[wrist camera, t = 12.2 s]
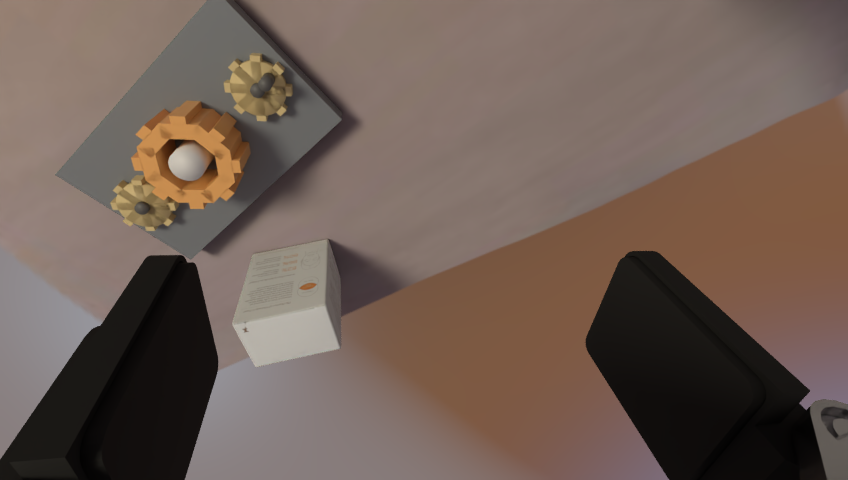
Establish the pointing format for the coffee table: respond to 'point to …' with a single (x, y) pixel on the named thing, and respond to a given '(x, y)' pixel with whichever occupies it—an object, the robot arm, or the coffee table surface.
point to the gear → (207, 132)
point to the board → (216, 89)
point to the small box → (290, 304)
